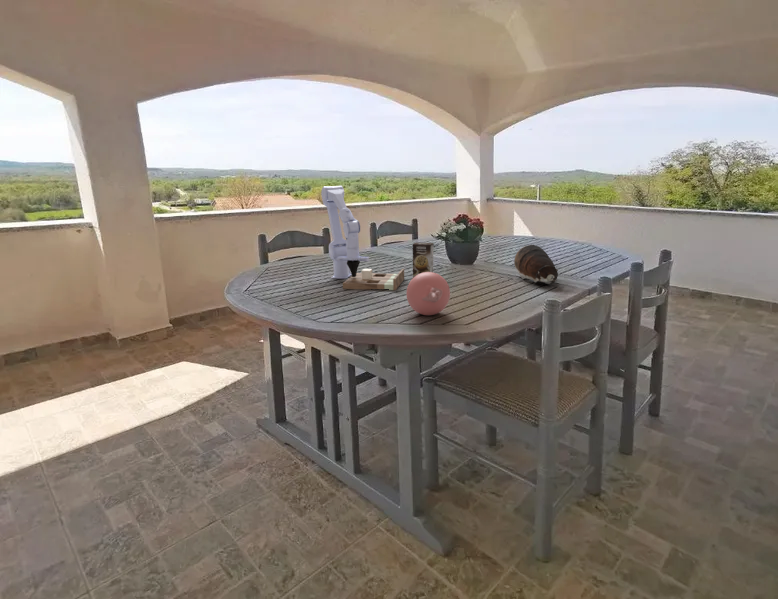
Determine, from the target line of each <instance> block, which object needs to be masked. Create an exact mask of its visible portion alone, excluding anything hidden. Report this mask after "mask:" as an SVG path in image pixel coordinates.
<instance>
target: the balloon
mask: <svg viewBox="0 0 778 599" xmlns="http://www.w3.org/2000/svg"><path fill="white" fill-rule="evenodd" d="M450 298H451V288H450V285H449V284H448V282H447V280H446V279H445V278H444V277H443V276H441V275H440V274H438V273H437V272H434V271H433V272H423V273H420V274H418V275H416V276H415V277H412V278H411V279H410V281H409V283H408V285H407V287H406V299H407V303H408V305H409V306H410V308H412V310H414V311H415V312H416V313H417V314H420V315H422V316H434V315H437V314H439V313H441V312H442V311H443V310H444V309H445V308H446V307H447V306H448V303H449V302H450Z"/></svg>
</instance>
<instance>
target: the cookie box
mask: <svg viewBox="0 0 778 599" xmlns="http://www.w3.org/2000/svg"><path fill="white" fill-rule="evenodd" d="M434 244H435V243H434V242H418V241H417V242H414V243H412V278H414V277H415V276H416V275H418V274H420V273H423V272H433V273H434Z"/></svg>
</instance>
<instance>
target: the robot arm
mask: <svg viewBox="0 0 778 599" xmlns="http://www.w3.org/2000/svg"><path fill="white" fill-rule="evenodd" d="M320 193H321V194H320V195H321V200H322V204H323V205H324V206H325V207H326V210H327V215H328V220H329V226H330V232H331V237H332V241H331V242H329V244H328V256H329V258H330V259H331V260H332V262H333V263H332V266H333V276H331V277H330V278H331V279H346V280H348V279H349V278H350V277H351V276H352V277H356V273H358V268H359V265H360V263H361V262H366V263H367V262H370V256H362V255H360V242H359V241H360V240H359V234H360V232H361V224H360V221H359V220H357V218H355V217H354V214H353V213H352V211H351V209H350V208H348V207H347V204H346V202H345V189H344V187H343V185H335V186H333V185H332V186H325V185H324V186H322V188H321V192H320ZM341 222H342V225H341ZM342 230H343V231H342ZM343 233H344V236H343Z"/></svg>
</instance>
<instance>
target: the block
mask: <svg viewBox="0 0 778 599" xmlns="http://www.w3.org/2000/svg"><path fill="white" fill-rule="evenodd" d="M361 273H362V279H371V278H372V273H373V269H372V268H363V269H361Z"/></svg>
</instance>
